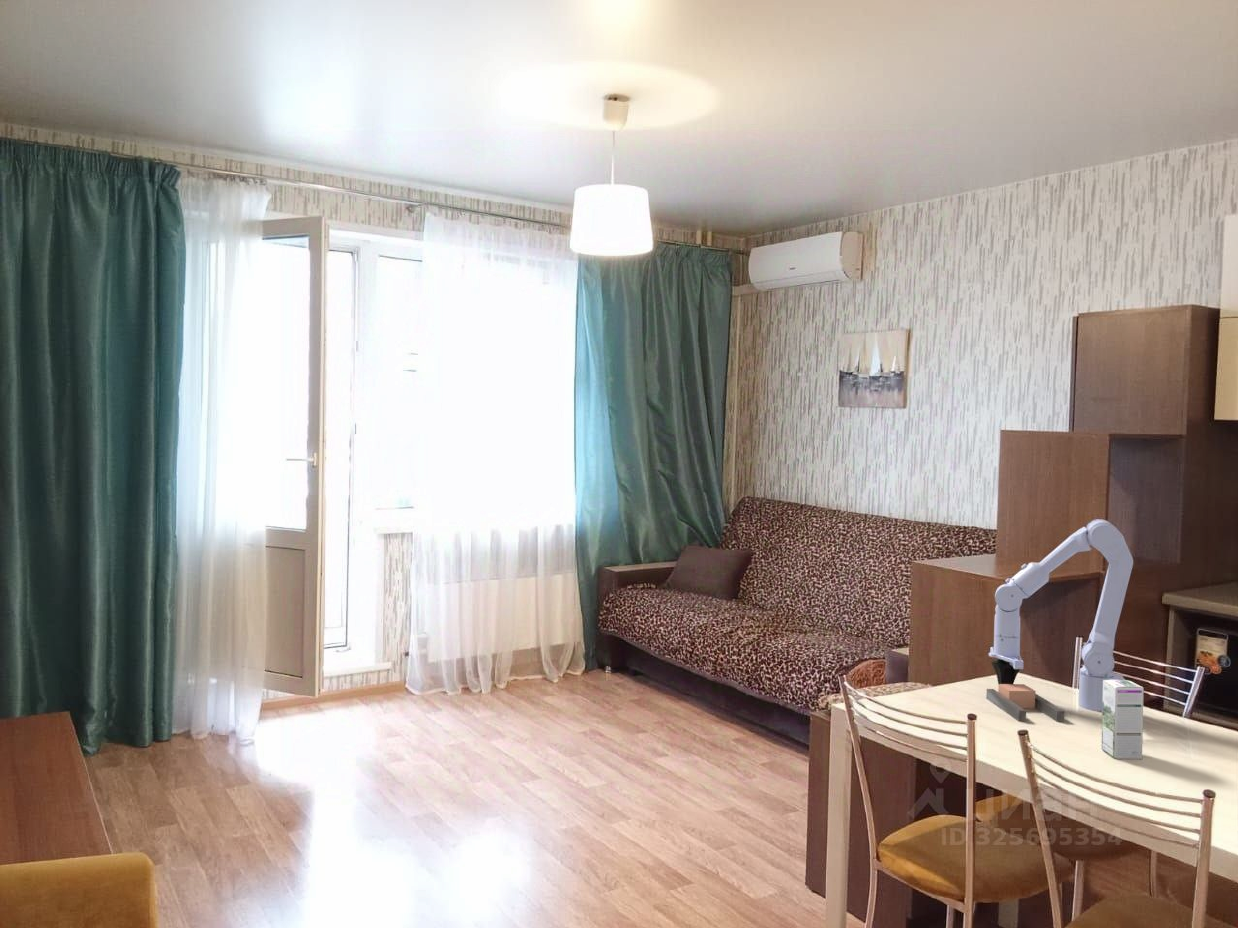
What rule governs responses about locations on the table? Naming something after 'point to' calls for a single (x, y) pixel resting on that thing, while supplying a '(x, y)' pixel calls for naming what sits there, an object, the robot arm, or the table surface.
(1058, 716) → the grey parallel rails
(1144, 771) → the table surface
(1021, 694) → the terracotta block
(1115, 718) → the syrup box
